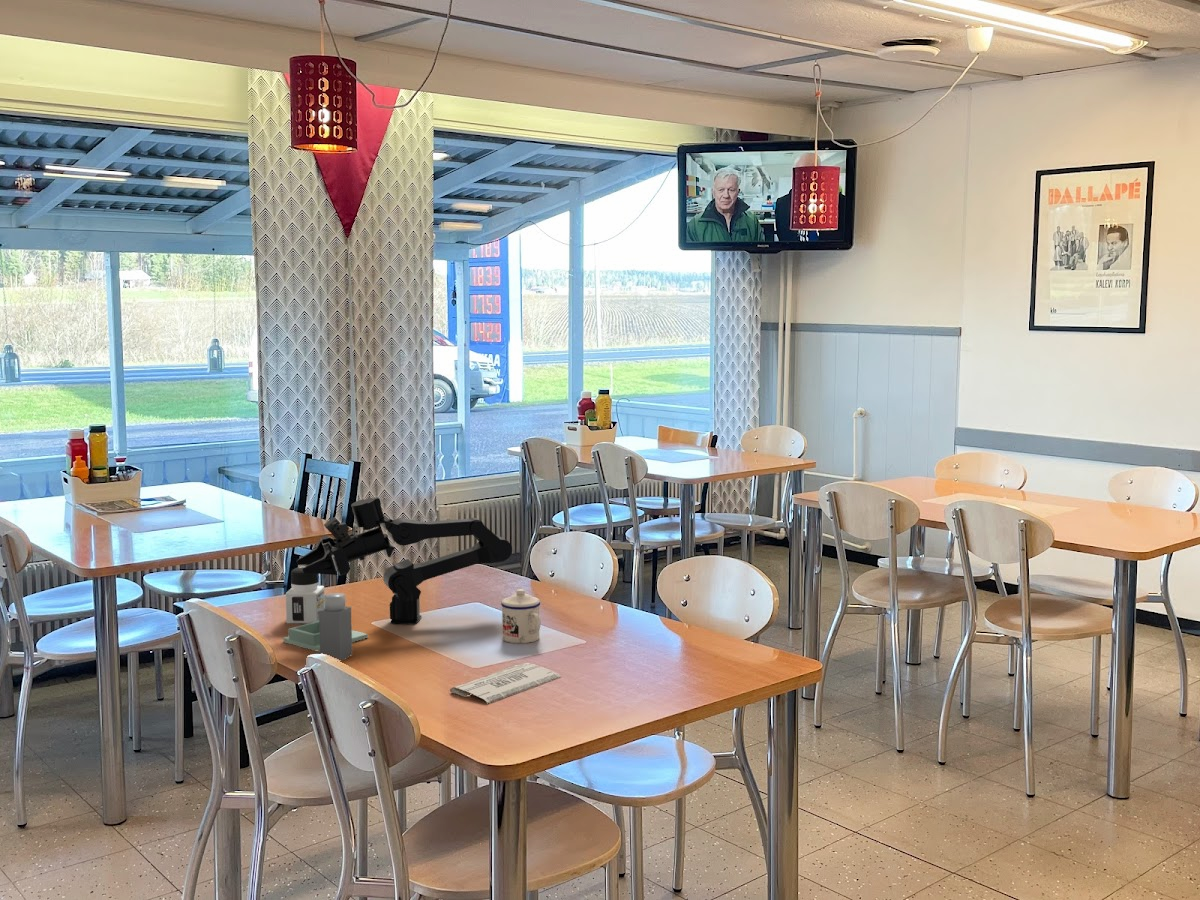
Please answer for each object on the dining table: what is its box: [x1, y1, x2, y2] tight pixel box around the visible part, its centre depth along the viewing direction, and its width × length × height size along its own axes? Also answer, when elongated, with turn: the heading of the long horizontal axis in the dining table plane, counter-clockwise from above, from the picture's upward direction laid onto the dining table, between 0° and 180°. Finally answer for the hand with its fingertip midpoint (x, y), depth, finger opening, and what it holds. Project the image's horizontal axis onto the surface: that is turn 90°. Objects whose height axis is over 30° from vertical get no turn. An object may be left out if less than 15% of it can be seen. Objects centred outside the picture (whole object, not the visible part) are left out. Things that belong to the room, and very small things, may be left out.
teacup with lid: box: [500, 588, 542, 644], centre depth 269 cm, size 12×9×12 cm
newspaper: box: [449, 662, 562, 705], centre depth 238 cm, size 23×12×2 cm, turn 141°
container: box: [285, 566, 326, 624], centre depth 286 cm, size 8×8×13 cm
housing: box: [282, 621, 369, 653], centre depth 269 cm, size 14×13×4 cm
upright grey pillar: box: [319, 592, 353, 662], centre depth 255 cm, size 5×5×14 cm
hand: (299, 566), depth 274 cm, fingers open, 9 cm apart
